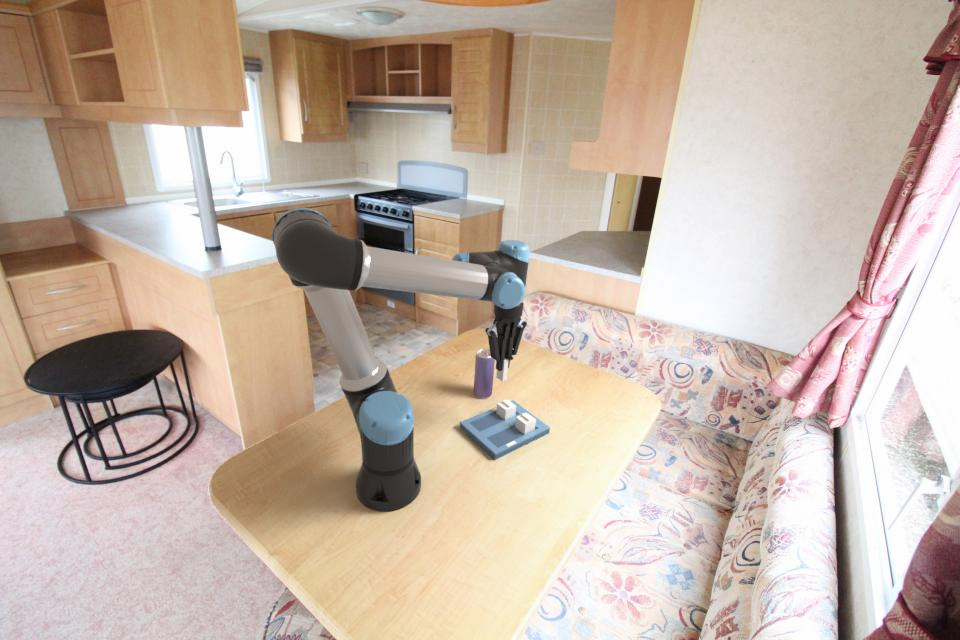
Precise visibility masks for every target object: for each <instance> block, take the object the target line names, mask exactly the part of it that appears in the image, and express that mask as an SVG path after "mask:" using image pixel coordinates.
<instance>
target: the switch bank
mask: <svg viewBox="0 0 960 640" xmlns="http://www.w3.org/2000/svg"><path fill="white" fill-rule="evenodd" d="M510 401H511V402H512V403H513V404H515V405H516V414H515V416H514V417H511V418H509V419H507V420H504V419H503V418H502V417H500V416H499V415H498V414H496V411H497V406H496V407H494V408H493V407H492V408H491V409H488V410H486V411H483V412H481V413H479V414H476V415H474V416H472V417H469V418H467V419H464V420H462V421H460V422H459V428H460V430H462V432H464V433H465V434H466V435H467V436H469V437H470V439H472V440H473V441H474V442H475V444H477V445H478V446H479V447H480V448H481V449H483V451H484V452H486V453H487V454H488V455H489V456H490V457H491V458H492V459H494V461H496V460H498V459H500V458H502V457H504V456H506V455H508V454H511V453H512V452H515V451H516V450H519V449H520V448H522V447H524V446H526V445H528V444H530V443H532V442H534V441H536V440H538V439H540V438H543V437H544V436H546V435H549V434H550V430H551V427H550V426H549V425H547V424H546V423H545V422H543V421H542V420H541V419H539V418H538V417H536V416H535V415H534V414H532V413H531V412H530V411H528V410H527V409H526V408H524V407H523V406H522V405H520V404H519V403H517V402H516V401H515V400H514V399H513V400H510ZM526 412H527V413H528V414H529V415H531V416H532V417H533V418H535V419H536V425H535V430H533V431H531V432H529V433H527V434H525V435H524V434H523V433H522V432H520V431H519V430H518V429H517V428H515V422H516V417H517V416H520V415H521V414H523V413H526Z"/></svg>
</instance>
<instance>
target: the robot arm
mask: <svg viewBox="0 0 960 640" xmlns="http://www.w3.org/2000/svg"><path fill="white" fill-rule="evenodd" d="M272 228H273V229H272V233H271V234H272V235H271V236H272V237H271V238H272V243H273V245H274V247H275V252H276V253H275V254H276V258H277V262H278V263H279V265H280V268H281V269H282V270H283V272H285V273H286V274H287V275H288V277H289V279H290V281H291V284H292V286H293V287H295V288H298V289H301V290H303V291H304V293H305V296H306V297H307V300H308V303H309V304H310V307H311V308H312V311H313V313H314V315H315V317H316V320H317V322H318V324H319V327H320V328H321V331H322V333H323V335H324V337H325V339H326V341H327V343H328V346H329V347H330V350H331V352H332V355H333V357H334V359H335V360H336V361H335V362H336V363H337V365H338V367H339V370H340V371H341V376H340V378H339V385H340V388H341V390H342V392H343V394H344V396H345V398H346V401H347V403H348V406H349V408H350V410H351V412H352V415H353V418H354V423H355V425H356V427H357V430H358V433H359V436H360V437H359V438H360V444H361V445H360V447H361V458H362V459H361V460H362V461H361V462H362V463H361V465H360V468H359V471H358V475H357V478H356V482H355V488H356V489H355V490H356V496H357V499H358V500H359V501H360V503H362V504H363V505H364V506H365V507H367V508H368V509H371V510H374V511H378V512H391V511H396V510H397V511H398V510H399V509H403V508H406V506H408V505H410V504H411V503H412V502H414V500H416V498H417V497H418V496H419V494H420V492H421V488H422V476H421V475H422V474H421V471H420V470H419V468H418V465H417V463H416V460H415V458H414V454H415V452H414V443H415V442H414V438H415V436H414V432H415V431H414V425H415V415H414V410H413V405H412V403H411V402H410V400H409V399H408V398H407V397H406V396H405V395H403V394H402V393H400V394H399V393H398V391H397V389H396V387H395V384H394V382H393V379H392V377H391V374H390V371H389V369H388V366H387V365H386V363H385V362H384V361H383V360H380V359H377V356H376V354H375V351H374V348H373V346H372V344H371V341H370V339H369V336H368V333H367V332H366V329H365V326H364V324H363V320H362V319H361V316H360V314H359V311H358V309H357V307H356V304H355V301H354V299H353V297H352V294H351V292H350V291H353V292H356V291H358V290H359V289H360V288H362V287H365V288H372V289H380V290H381V289H383V290H390V291H399V292H408V293H416V294H424V295H433V296H441V297H451V298H457V299H458V298H459V299H468V300H475V301H483V302H491V303H493V305H494V307H493V313H494V314H493V315H494V319H493V322H492V324H493V325H491V327H490V328H489V327H486V328H485V329H484V331H485V333H486V335H487V339H488V346H489V350H490V355H491V357H492V358H493V359H495V370H496V376H495V378H496V379H498V380H499V381H501V382H502V383H504V382H506V381H507V379H508V369H509V368H510V363H511V361H512V360H514V357H513V356H517V354H518V350H519V346H520V344H521V341H522V340H521V339H522V337H523V334H524V330H525V328H526V327H527V325H528V323H527V321H525V320H523V319H522V318H521V317H522V316H523V311H524V300H525V294H526V285H527V277H528V268H529V263H530V246H529V245H528V244H527V243H526V242H524V241H521V240H515V239H506V240H502V241H500V243H499V246H498V250H492V251H476V252H475V251H474V252H473V251H471V252H469V251H467V252H461V253H456V254H455V255H454V256H453V257H452V259H447V258H440V257H433V256H427V255H422V254H415V253H410V252H403V251H399V250H391V249H386V248H385V249H384V248H379V247H375V246H374V247H373V246H367V245H366V243H365V241H363V240H362V239H358V238H352V237H348V236H345V235H342V234H340V233H337V232H336V231H335V230H334V228H333V226H332V225H331V222H330V221H329V220H328V218H327V217H326V216H324V214H322V213H320V212H319V211H316V210H315V209H312V208H307V207H297V208H295V207H294V208H292V209H289V210H287V211H285V212H284V213H282V214H281V215H280V216H279V217H278V218H277V219H276V221H275V223H274V226H273V227H272Z"/></svg>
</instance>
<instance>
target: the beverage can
mask: <svg viewBox="0 0 960 640" xmlns="http://www.w3.org/2000/svg"><path fill="white" fill-rule="evenodd" d="M495 364H496V360H495V359H493V358H492V357H491V355H490V348H489V349H488V348H481V349H478V350H477V351H476V354H475V362H474V374H473V375H474V376H473V377H474V380H473V394H474V396H475V397H476V398H478V399H481V400H482V399H483V400H485V399H488V398H490V397H491V396H492V395H493V386H494V374H495V373H494V372H495Z"/></svg>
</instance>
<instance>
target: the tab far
mask: <svg viewBox="0 0 960 640" xmlns="http://www.w3.org/2000/svg"><path fill="white" fill-rule="evenodd" d="M511 401H512V400H509V399H508V398H507V399H503V400H502V401H500V402H497V403H496V407H497V411H496V414H498V415H499V416H500V417H502V418H503V419H504V420H507V419H509V418H511V417H514V416H515V414H516V405H515V404H513V403H512V402H511Z"/></svg>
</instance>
